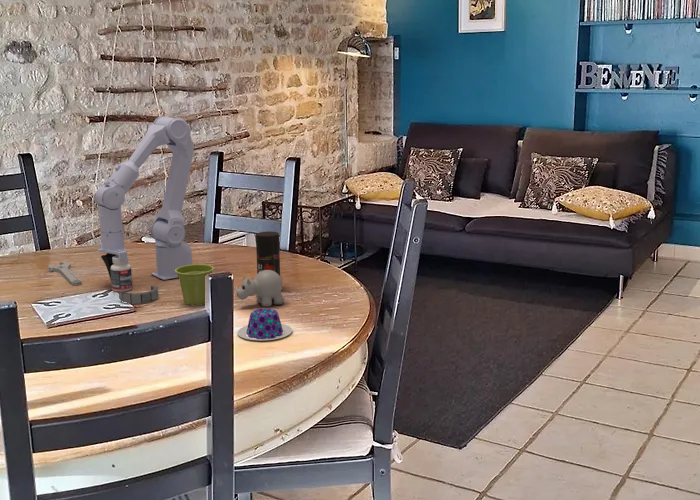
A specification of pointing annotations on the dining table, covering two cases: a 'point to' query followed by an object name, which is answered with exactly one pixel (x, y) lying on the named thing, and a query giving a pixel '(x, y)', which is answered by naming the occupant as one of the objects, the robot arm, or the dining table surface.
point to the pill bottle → (121, 275)
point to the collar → (140, 296)
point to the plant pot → (193, 282)
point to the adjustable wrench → (66, 273)
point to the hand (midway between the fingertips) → (115, 280)
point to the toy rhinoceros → (262, 288)
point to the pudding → (264, 326)
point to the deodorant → (268, 251)
